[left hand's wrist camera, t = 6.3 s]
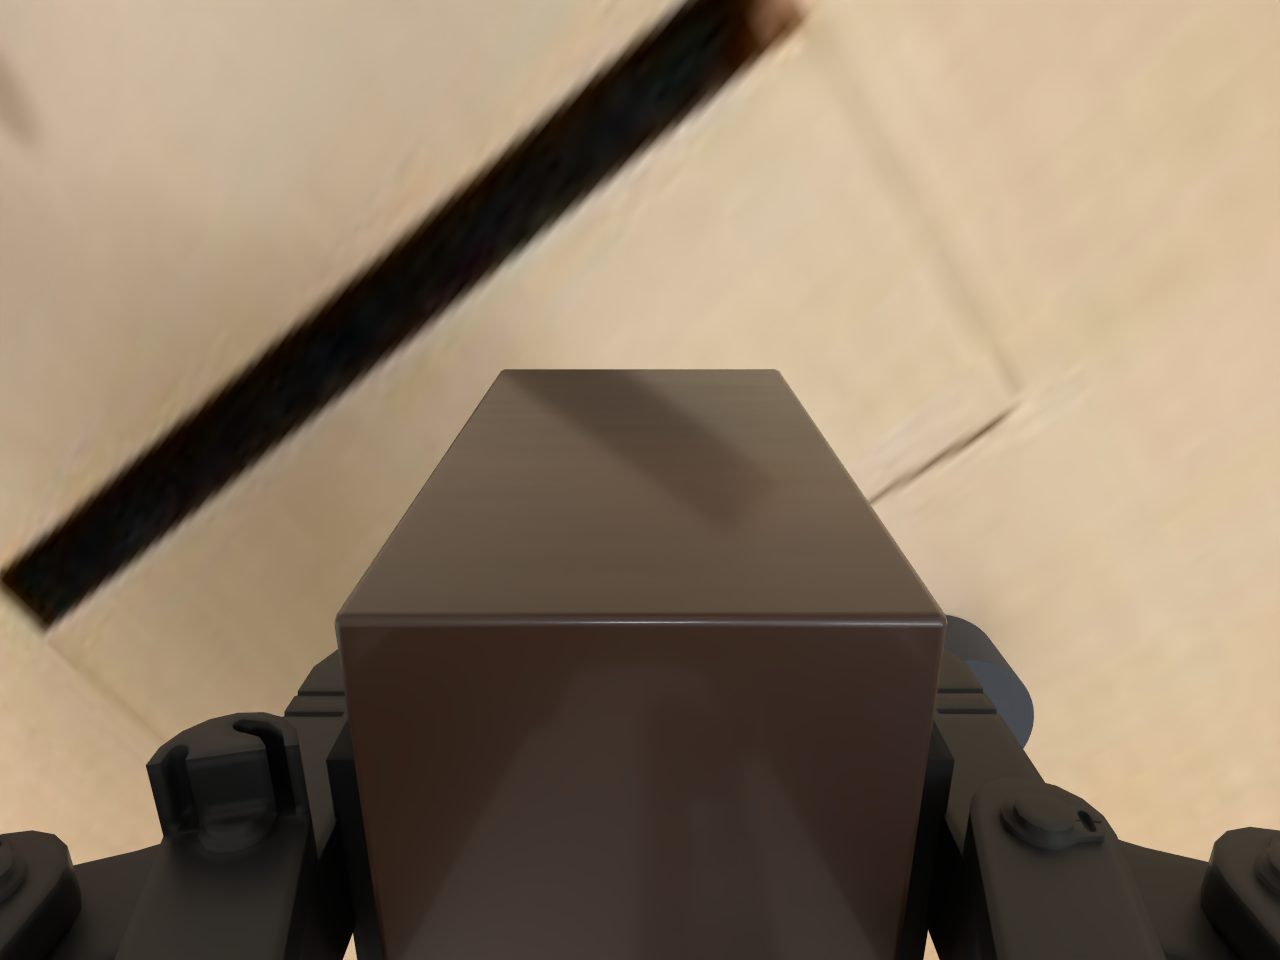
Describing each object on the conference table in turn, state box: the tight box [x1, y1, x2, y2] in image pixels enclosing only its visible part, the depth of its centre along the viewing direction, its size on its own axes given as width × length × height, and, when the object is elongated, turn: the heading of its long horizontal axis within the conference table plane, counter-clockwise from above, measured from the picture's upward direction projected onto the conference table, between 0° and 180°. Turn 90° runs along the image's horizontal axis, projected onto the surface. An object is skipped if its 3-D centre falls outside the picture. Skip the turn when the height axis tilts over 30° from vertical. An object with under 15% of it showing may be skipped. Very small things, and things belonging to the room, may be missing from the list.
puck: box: [944, 615, 1034, 748], centre depth 29 cm, size 5×5×3 cm
